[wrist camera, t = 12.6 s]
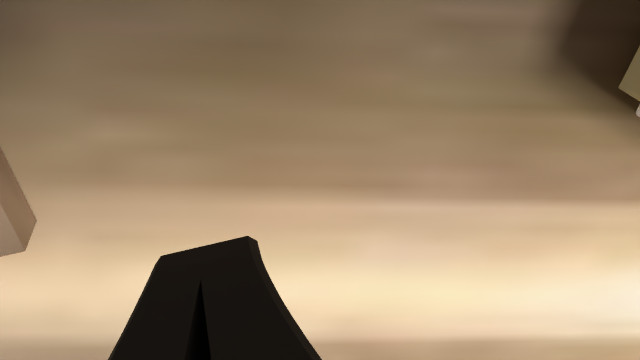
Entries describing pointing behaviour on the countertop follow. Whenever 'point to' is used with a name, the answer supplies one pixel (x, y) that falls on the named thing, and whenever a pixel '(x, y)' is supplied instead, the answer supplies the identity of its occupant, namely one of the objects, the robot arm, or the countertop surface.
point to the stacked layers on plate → (632, 79)
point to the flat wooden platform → (13, 213)
